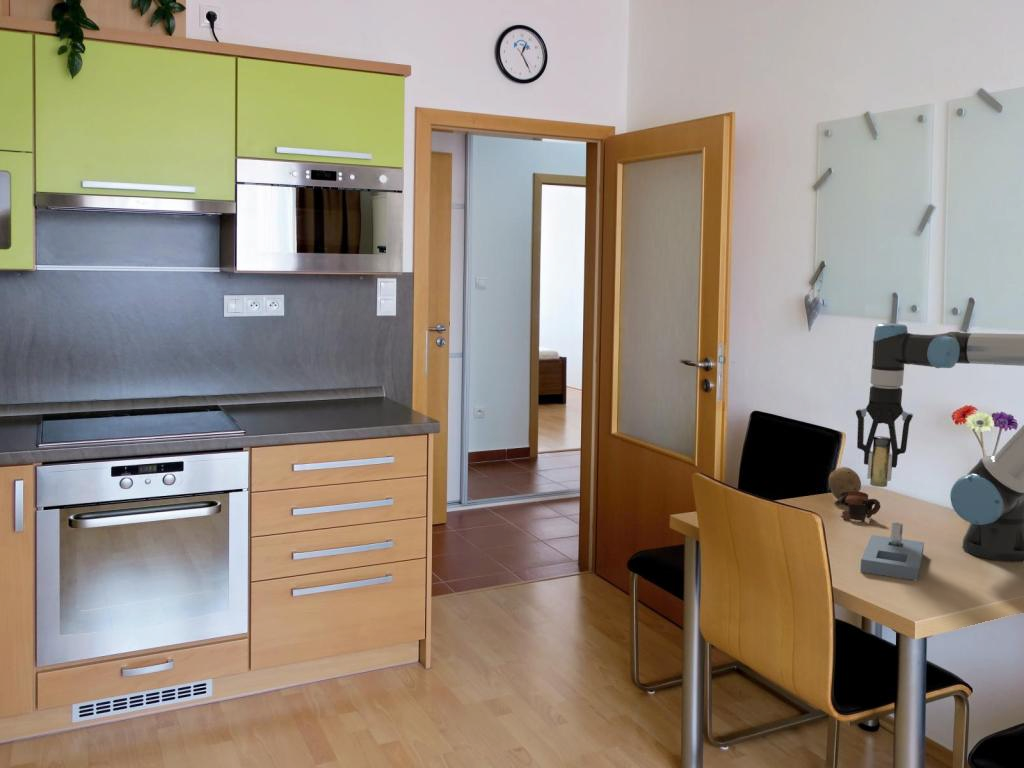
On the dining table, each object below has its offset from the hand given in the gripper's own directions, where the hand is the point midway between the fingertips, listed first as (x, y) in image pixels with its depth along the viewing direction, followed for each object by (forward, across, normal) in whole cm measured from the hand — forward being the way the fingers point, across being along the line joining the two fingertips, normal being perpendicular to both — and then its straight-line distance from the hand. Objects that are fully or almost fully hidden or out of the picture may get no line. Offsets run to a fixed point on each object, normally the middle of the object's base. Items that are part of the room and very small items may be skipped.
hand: (879, 478), depth 249 cm
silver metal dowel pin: (+16, -6, +11) cm, 21 cm away
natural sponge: (+16, +12, -37) cm, 42 cm away
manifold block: (+16, -6, +17) cm, 24 cm away
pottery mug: (+16, +6, -21) cm, 27 cm away
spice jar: (+2, 0, 0) cm, 2 cm away
